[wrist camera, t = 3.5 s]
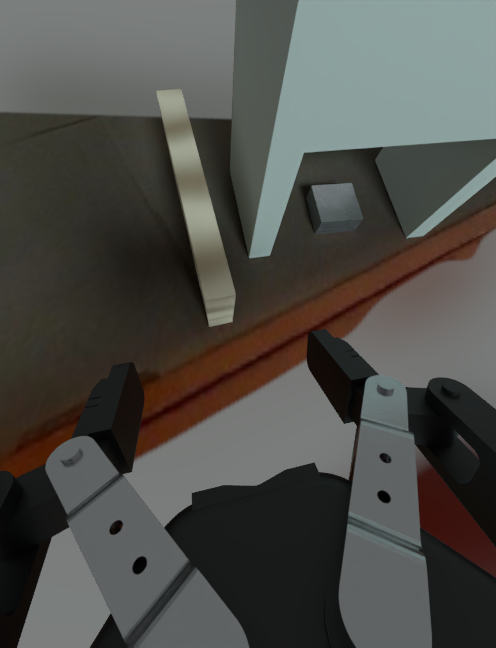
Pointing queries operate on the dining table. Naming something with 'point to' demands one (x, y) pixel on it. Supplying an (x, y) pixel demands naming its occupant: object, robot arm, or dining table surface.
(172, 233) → the dining table surface
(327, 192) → the block
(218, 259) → the beech blade
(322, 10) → the desk
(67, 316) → the dining table surface
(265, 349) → the dining table surface
